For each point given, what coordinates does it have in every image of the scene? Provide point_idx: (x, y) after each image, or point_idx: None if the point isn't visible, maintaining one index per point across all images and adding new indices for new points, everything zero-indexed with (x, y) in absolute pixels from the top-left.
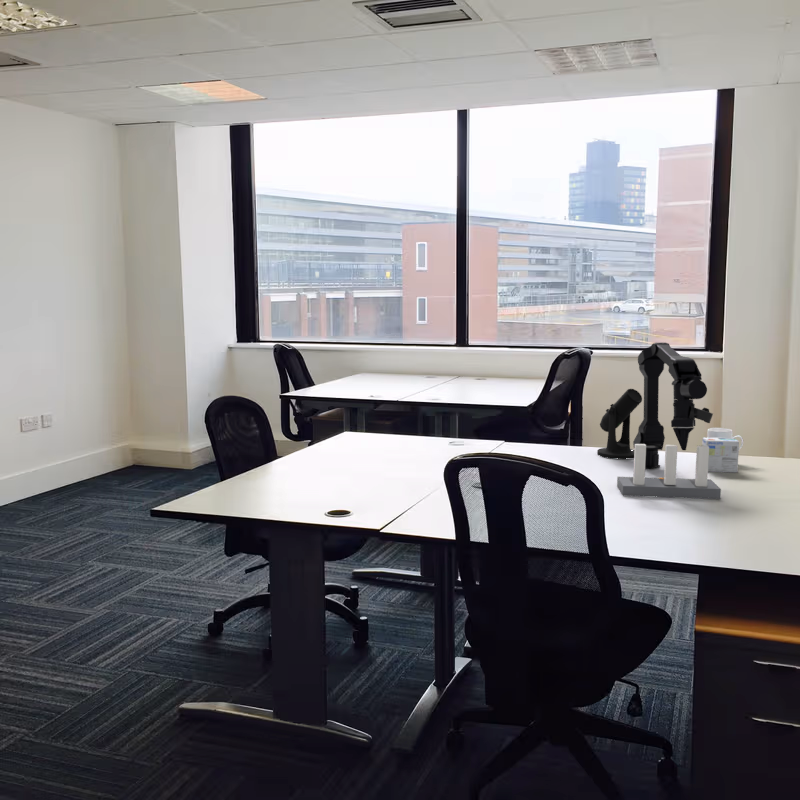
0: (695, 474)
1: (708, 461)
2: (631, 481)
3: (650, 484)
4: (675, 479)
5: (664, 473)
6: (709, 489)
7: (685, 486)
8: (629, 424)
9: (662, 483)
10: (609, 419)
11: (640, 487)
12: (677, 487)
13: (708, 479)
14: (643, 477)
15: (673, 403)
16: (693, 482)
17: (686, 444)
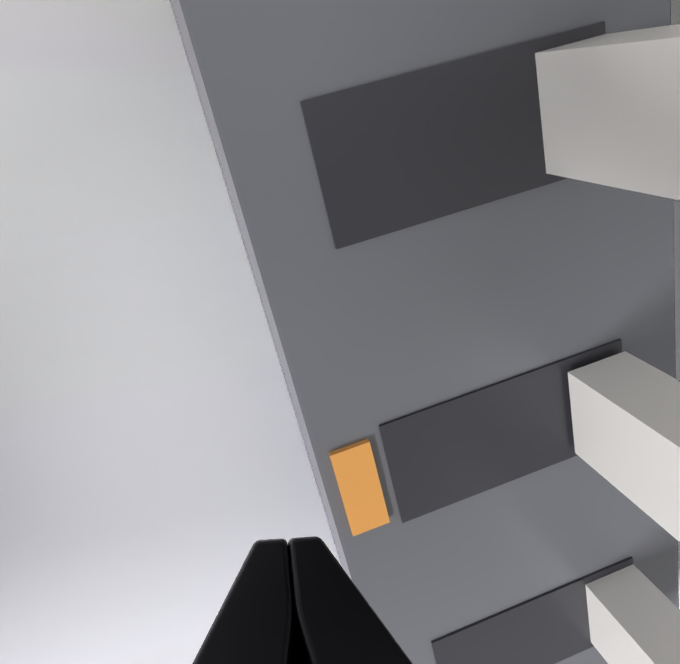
0: (626, 188)
1: None
2: (555, 661)
3: (607, 530)
4: (664, 375)
5: (649, 504)
6: (663, 5)
7: (623, 259)
8: None
9: (559, 460)
10: None
11: (672, 565)
12: (669, 323)
13: (188, 2)
14: (676, 615)
15: None
16: (448, 194)
17: (389, 633)
